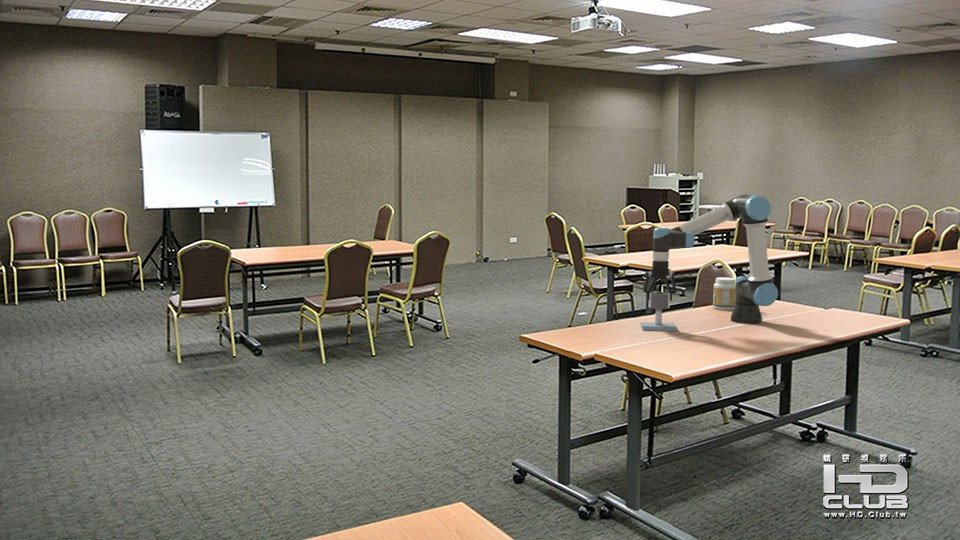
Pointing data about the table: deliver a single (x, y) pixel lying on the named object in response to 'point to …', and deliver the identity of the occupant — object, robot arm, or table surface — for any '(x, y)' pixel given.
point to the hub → (659, 300)
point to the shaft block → (658, 324)
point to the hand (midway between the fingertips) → (659, 307)
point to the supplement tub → (724, 293)
